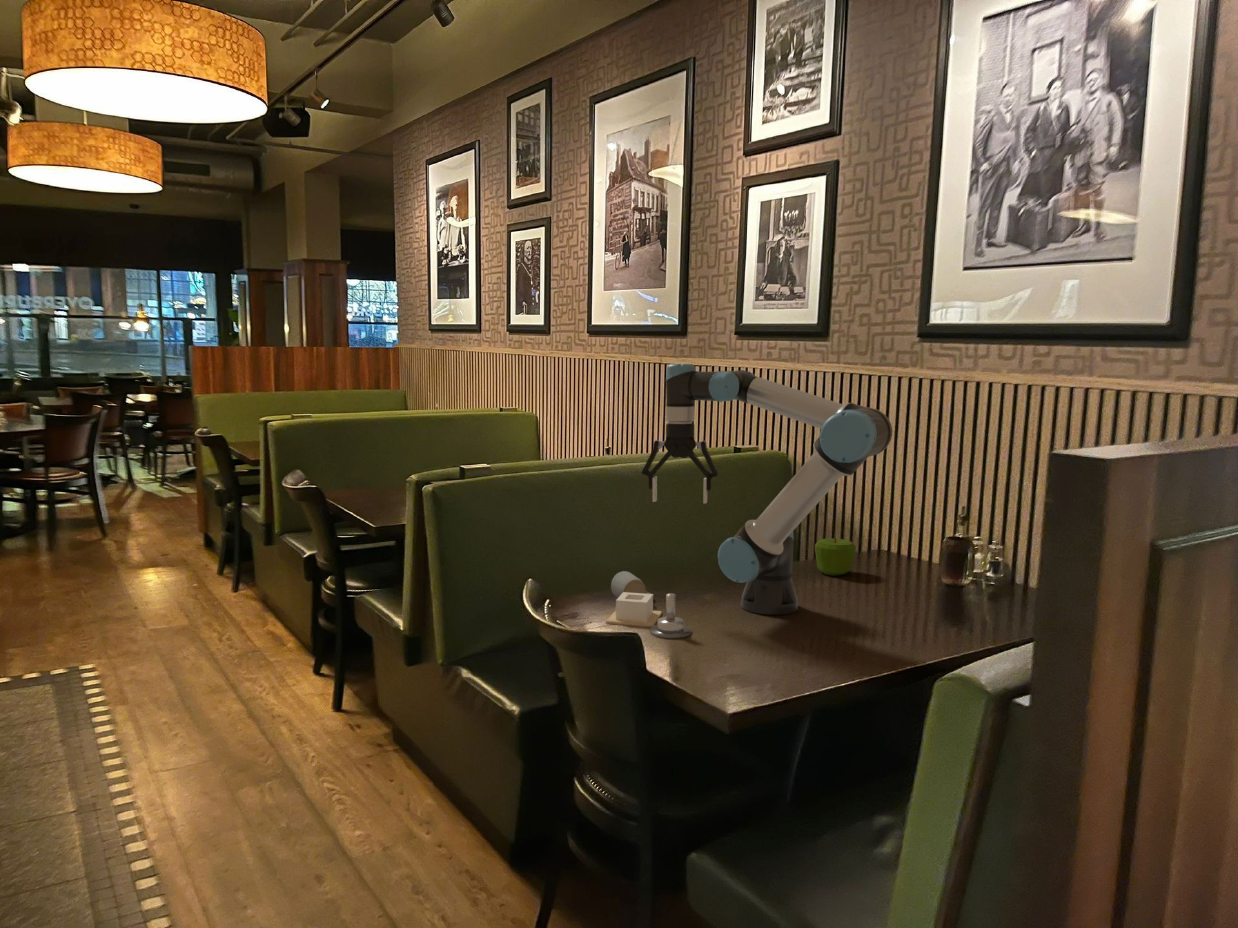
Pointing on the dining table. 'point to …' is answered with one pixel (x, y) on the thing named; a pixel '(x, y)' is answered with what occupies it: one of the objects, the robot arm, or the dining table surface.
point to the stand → (670, 623)
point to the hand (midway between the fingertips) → (679, 502)
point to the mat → (649, 623)
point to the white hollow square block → (634, 606)
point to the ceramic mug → (627, 584)
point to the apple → (834, 556)
